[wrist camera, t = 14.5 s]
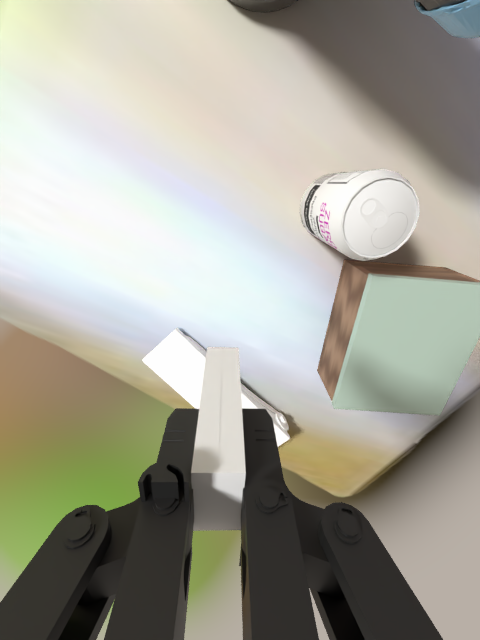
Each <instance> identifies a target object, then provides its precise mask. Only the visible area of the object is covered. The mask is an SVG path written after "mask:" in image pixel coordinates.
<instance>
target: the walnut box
mask: <svg viewBox="0 0 480 640" xmlns="http://www.w3.org/2000/svg"><path fill="white" fill-rule="evenodd" d="M369 273H372V274H384V275H396V276H408V277H420V278H432V279H444V280H456V281H468V282H480V281H479V280H476V279H474V278H471V277H469V276H466V275H463V274H461V273H458V272H456V271H453V270H450V269H448V268H445V267H432V266H419V265H406V264H393V263H380V262H367V261H354V260H344V262H343V266H342V270H341V275H340V279H339V283H338V287H337V291H336V295H335V299H334V303H333V307H332V312H331V316H330V320H329V324H328V328H327V332H326V336H325V340H324V344H323V349H322V353H321V357H320V361H319V365H318V369H317V371H318V373H319V375H320V377H321V379H322V382H323V384H324V386H325V388H326V390H327V392H328V394H329V396H330V398H331V400H333V397H334V393H335V390H336V386H337V383H338V379H339V376H340V372H341V369H342V365H343V362H344V358H345V355H346V351H347V348H348V344H349V341H350V337H351V334H352V330H353V327H354V323H355V320H356V316H357V313H358V309H359V306H360V302H361V299H362V295H363V292H364V288H365V285H366V281H367V278H368V274H369Z"/></svg>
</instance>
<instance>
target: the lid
mask: <svg viewBox="0 0 480 640" xmlns="http://www.w3.org/2000/svg"><path fill="white" fill-rule="evenodd" d="M479 337H480V282H468V281H456V280H444V279H432V278H420V277H408V276H396V275H384V274H372V273H369V274H368V278H367V281H366V285H365V288H364V292H363V295H362V299H361V302H360V306H359V309H358V313H357V316H356V320H355V323H354V327H353V330H352V334H351V337H350V341H349V344H348V348H347V351H346V355H345V358H344V362H343V365H342V369H341V372H340V376H339V379H338V383H337V386H336V390H335V393H334V397H333V400H332V405H333V408H334V409H346V410H362V411H378V412H393V413H409V414H424V415H440V414H441V412H442V410H443V408H444V406H445V405H446V403H447V401H448V399H449V397H450V395H451V393H452V391H453V389H454V387H455V385H456V383H457V381H458V379H459V377H460V375H461V373H462V371H463V369H464V367H465V365H466V363H467V361H468V359H469V357H470V355H471V353H472V351H473V349H474V347H475V345H476V343H477V341H478V339H479Z"/></svg>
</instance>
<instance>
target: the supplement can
mask: <svg viewBox="0 0 480 640" xmlns="http://www.w3.org/2000/svg"><path fill="white" fill-rule="evenodd" d="M299 213H300V217H301V221H302V224H303V225H304V227H305V228H306V230H307V231H308V232H309V233H311V234H312V235H314V236H315V237H317V238H318V239H320V240H322V241H323V242H325V243H326V244H328V245H330V246H331V247H333V248H335V249H336V250H338V251H339V252H341V253H343V254H344V255H346V256H348V257H349V258H351V259H356V260H361V261H367V260H373V259H378V258H380V257H384V256H386V255H388V254H390V253H392V252H394V251H396V250H398V249H399V248H400V247H401V246H402V245H403V244H404V243H405V242H406V241H408V239H409V238H410V236H411V234H412V233H413V231H414V229H415V228H416V225H417V221H418V217H419V214H420V212H419V199H418V197H417V195H416V193H415V191H414V188H413V187H412V186H411V184H410V182H409V181H408V180H406V179H405V178H404V177H403V176H402V175H400V174H399V173H398V172H394V171H390V170H385V169H377V170H366V171H354V172H343V173H333V174H328V175H323V176H321V177H320V178H318V179H316V180H315V181H313V182H312V183H311V185H310V186H309V187H308V188H307V189H306V190H305V192H304V195H303V197H302V199H301V203H300V212H299Z"/></svg>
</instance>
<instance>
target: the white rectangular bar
mask: <svg viewBox="0 0 480 640" xmlns="http://www.w3.org/2000/svg"><path fill="white" fill-rule="evenodd" d="M206 353H207V351H206V350H205V349H203V348H202V347H201V346H200V345H199V344H198V343H196V342H195V341H194V340H193V339H192V338H191V337H189V336H185V335H184V334H183V333H182V332H181V331H180V330H179V329H178V328H176V329H175V330H174V331H173V332H172V333H171V334H170V335H169V336H167V337H166V338H165V339H164V340H163V341H162V342H161V343H160V344H159V345H158V346H157V347H155V348H154V349H153V350H152V351H151V352H150V353H149V354H148V355H147V356H146V357H145V358H144V359H143V360H142V361H143V362H144V363H145V364H146V365H147V366H148V367H150V368H151V369H152V370H153V371H154V372H155V373H156V374H157V375H158V376H160V377H161V378H162V379H163V380H164V381H165V382H166V383H167V384H169V385H170V386H171V387H172V388H173V389H174V390H175V391H176V392H178V393H179V394H180V395H181V396H182V397H183V398H184V399H185V400H187V401H188V402H189V403H190V404H191V405H192V406H193V407H194V408H196V409H199V407H200V400H201V392H202V384H203V377H204V369H205V361H206ZM241 399H242V408H245V409H266V410H267V412H268V413H269V414H270V416H271V417H272V419H273V424H274V432H275V435H276V442H277V446H280V445H281V444H283V443H284V442H286V441H287V440H289V439H290V436H289V434H288V433H287V430H289V426H288V423H287V420H286V418H285V417H284V416H283V414H281V413H280V412H278V411H276V410H275V409H274V408H273V407H271V406H270V405H269V404H267V403H266V402H264V401H263V400H261V399H260V398H259V397H257V396H256V395H255V394H253V393H252V392H251V391H250V390H248V389H247V388H246V387H245V386H244V385H242V384H241Z"/></svg>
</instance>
